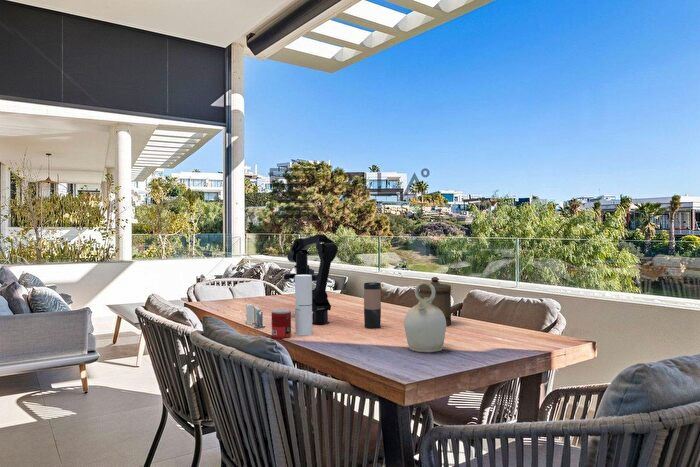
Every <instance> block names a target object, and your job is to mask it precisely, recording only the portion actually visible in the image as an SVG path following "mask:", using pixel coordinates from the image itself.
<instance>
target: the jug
mask: <svg viewBox="0 0 700 467" xmlns="http://www.w3.org/2000/svg"><path fill="white" fill-rule="evenodd" d="M423 285H427V286H428V287H429V288H430V289H431V296H430V297H429V298H428V297H426V298H422V297H421V296H420V295H419V291H420V290H419V289H420V287H421V286H423ZM414 295H415V298H416V299H417V300H418V303H417V304H415V305H413V306H412V307H411V308H410V309H408V310H407V312H406V313H405V317H404V321H403V326H404V327H403V328H404V332H405V337H406V342H407V345H408V349H409V350H410V351H413V352H417V353H425V354H426V353H427V354H428V353H438V352H440V351H442V350H443V346H444V343H445V338H446V331H447V326H446V319H445V316H444V314H443V312H442V311H441V310H440V309H439V308H438V307H436V306H434V305H432V304H431V303H432V301H433V299H434V297H435V288H434V286H433V285H432V284H431V282H430V281H426V280H423V281H421V282H419V283H418V284H416V286H415V288H414Z"/></svg>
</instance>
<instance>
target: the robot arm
mask: <svg viewBox="0 0 700 467" xmlns="http://www.w3.org/2000/svg"><path fill="white" fill-rule="evenodd" d="M291 245H292V246H291V247H290V251H289V252H288V254H287V256H286V257H287V260H288V261H289V262H290V263H295V265H294V268H295V272H296V273H293V272H290V273H289V272H288V273H285V274H284V275H283V280H285V281H287V280H288V281H289V280H290V279H291V280H292V282H293V283H295V275H312V282H316V283H315V288H314V289H312V325H321V326H324V325H326V324H329V323H330V321H329V318H328V317H329V315H328V314H329V313H328V312H329V311H331V307H332V304H330V301H329V299H328V298H329V297H328V293H327V290H326V289H327V285H328V279H329V276H330V275H329V274H330V270H331V264H332V262H333V261H334V260H335V259H336V257H337V253H338V250H339V248H338V246H337V244H336V243H335V241H333V240H332V239H331V238H329V237H328V236H327V235H326V234H324V233H320V234H319V233H317V234H315V235H312V236H308V237H300V238H299V237H298V238H294V241H293V242H292V244H291ZM314 245H315V249H316V250H317V252H318V253H317V255H318V257H319V267H318V273H317V274H315V270H313V269H312V268H310V265H309V264H308V261H309V260H308V255H310V252H309V251H308V250H309V249H311V247H312V246H314Z"/></svg>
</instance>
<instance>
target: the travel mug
mask: <svg viewBox="0 0 700 467" xmlns="http://www.w3.org/2000/svg"><path fill="white" fill-rule="evenodd" d="M381 286H382V285H381V282H373V281H371V282H370V281H369V282H364V283H363V316H364V317H363V318H364V320H363V321H364V328H365V329H368V330H369V329H370V330H377V329H380V328H381V323H382V322H381V321H382V320H381V319H382V318H381V317H382V303H381V302H382V299H381V298H382V297H381V296H382V295H381V291H382V290H381V289H382V288H381Z"/></svg>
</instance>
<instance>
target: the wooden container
mask: <svg viewBox="0 0 700 467" xmlns="http://www.w3.org/2000/svg"><path fill="white" fill-rule="evenodd" d="M439 281H440V279H439V278H438V276H433V277H431V282H430V283H431V284H432V285H433V286H434V288H435V297H434V299H433V301H432V303H431V304H432V305H434V306H436V307H438V308H439V309H440V310H441V311H442V312H443V314H444V316H445V319H446V327H449V326H451V325H452V302H451V301H452V299H451V298H452V297H451V296H452V295H451V293H452V286H451V285H450V284H448V283H447V284H444V283H440V282H439ZM419 295H420V296H421V297H422V298H426V297H428V298H429V297H430V296H431V289H430V288H429V287H428V286H427V285H423V286H421V287H420V289H419Z"/></svg>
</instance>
